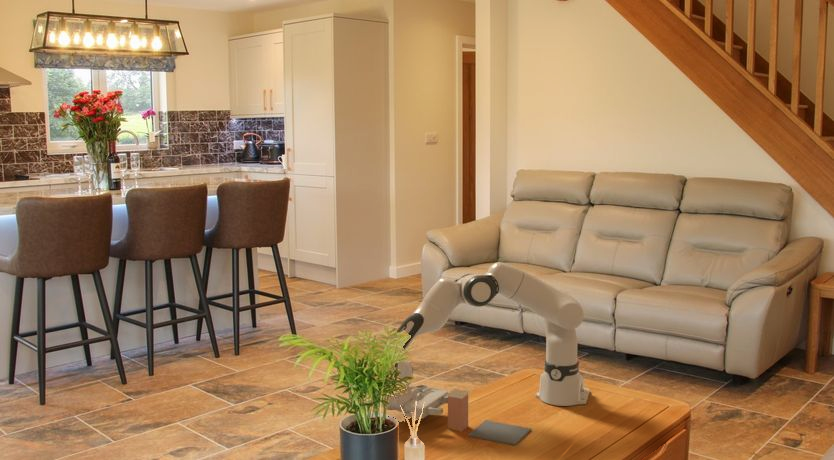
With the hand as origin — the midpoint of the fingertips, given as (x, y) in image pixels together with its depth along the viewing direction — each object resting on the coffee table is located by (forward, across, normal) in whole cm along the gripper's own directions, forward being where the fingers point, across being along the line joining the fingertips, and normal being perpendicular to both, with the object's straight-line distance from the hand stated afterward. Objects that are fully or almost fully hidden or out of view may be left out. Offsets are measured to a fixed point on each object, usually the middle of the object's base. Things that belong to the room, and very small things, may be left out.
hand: (448, 407), depth 260 cm
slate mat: (+18, +2, +6) cm, 19 cm away
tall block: (+4, 0, +6) cm, 7 cm away
